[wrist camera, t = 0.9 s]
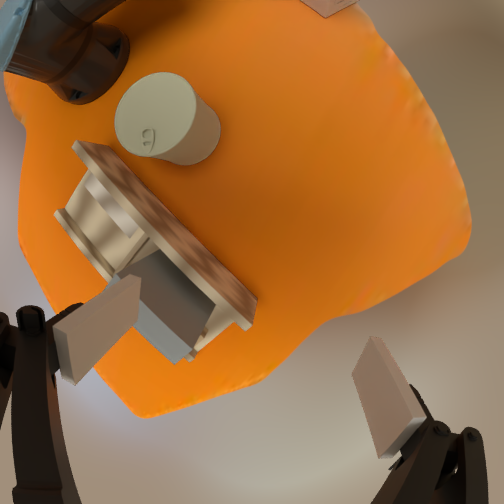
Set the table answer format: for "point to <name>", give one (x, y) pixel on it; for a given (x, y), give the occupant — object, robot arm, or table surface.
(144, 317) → the slate board
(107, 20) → the table surface
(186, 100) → the can
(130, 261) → the rack
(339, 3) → the tall white carton
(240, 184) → the table surface
